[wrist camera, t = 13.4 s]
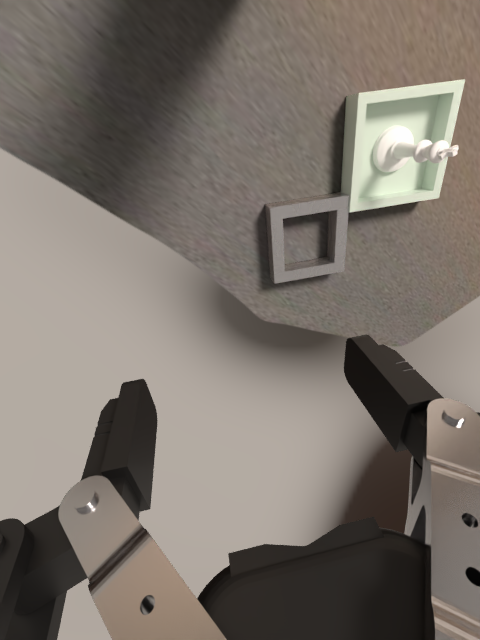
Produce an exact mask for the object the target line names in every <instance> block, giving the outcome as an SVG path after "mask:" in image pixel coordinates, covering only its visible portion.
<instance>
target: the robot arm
mask: <svg viewBox="0 0 480 640" xmlns="http://www.w3.org/2000/svg"><path fill="white" fill-rule="evenodd" d="M344 373H345V376H346V379H347V381H348V383H349V385H350V386H351V387H352V389H353V390H354V392H355V393H356V395H357V396H358V398H359V399H360V400H361V402H362V403H363V405H364V406H365V408H366V409H367V410H368V412H369V414H370V415H371V417H372V418H373V419H374V421H375V422H376V424H377V425H378V427H379V428H380V430H381V431H382V432H383V434H384V435H385V437H386V438H387V440H388V441H389V443H390V444H391V446H392V447H393V449H394V450H395V451H396V452H398V451H403V450H407V449H408V450H409V451H410V453H411V454H412V459H411V471H410V489H409V505H408V515H407V521H406V526H405V533H404V534H403V533H400V532H397V531H394V530H389V529H384V528H379V526H378V524H377V522H376V520H375V519H374V517H371V518H367V519H363V520H359V521H355V522H351V523H347V524H343V525H339V526H338V527H336V528H334V529H333V530H331V531H330V532H328V533H327V534H325V535H323V536H322V537H320V538H319V539H317V540H316V541H314V542H312V543H311V544H309V545H307V546H287V545H269V544H264V545H260V546H256V547H252V548H248V549H244V550H241V551H237V552H233V553H229V563H230V565H229V566H228V567H226V568H225V569H223V570H222V571H221V572H220V573H218V574H217V575H216V576H215V577H214V578H213V579H212V580H211V581H210V582H209V583H208V584H207V585H206V587H205V588H204V589H203V591H202V592H201V593H200V595H199V597H198V598H196V597H195V595H194V594H193V593H192V592H191V590H190V589H189V587H188V586H187V585H186V583H185V582H184V580H183V579H182V578H181V577H180V575H179V574H178V572H177V571H176V569H175V568H174V567H173V565H172V564H171V563H170V561H169V560H168V559H167V557H166V556H165V555H164V553H163V552H162V550H161V549H160V548H159V546H158V545H157V543H156V542H155V541H154V539H153V538H152V537H151V535H150V534H149V533H148V532H147V530H146V529H144V528H143V526H142V525H141V524H140V522H139V521H138V519H139V512H140V511H144V510H148V509H150V504H151V492H152V481H153V468H154V456H155V444H156V432H157V413H156V408H155V405H154V402H153V400H152V397H151V394H150V392H149V389H148V387H147V384H146V382H145V380H144V379H139V380H135V381H130V382H125V383H123V384H122V386H121V390H120V395H119V398H115V399H110V400H109V402H108V403H107V405H106V406H105V407H104V409H103V410H102V411H101V414H100V417H99V421H98V427H97V428H96V431H95V437H94V438H93V441H92V445H91V448H90V452H89V455H88V459H87V462H86V466H85V469H84V472H83V476H82V479H81V481H80V482H78V483H77V484H76V485H75V486H73V487H72V488H71V489H70V490H69V491H68V493H67V494H66V495H65V497H64V498H63V500H62V502H61V504H60V506H58V507H57V508H55V509H53V510H52V511H50V512H48V513H46V514H44V515H42V516H40V517H38V518H36V519H35V520H33V521H31V522H29V523H27V524H25V525H24V524H23V523H22V522H21V521H19V520H18V519H6V520H2V521H0V640H57V636H58V631H59V627H60V622H61V617H62V612H63V607H64V603H65V598H66V593H67V590H69V589H70V588H72V587H73V586H75V585H76V584H78V583H80V582H81V581H83V580H84V579H86V578H88V579H89V583H90V584H89V585H88V588H89V591H90V594H91V596H92V598H93V601H94V603H95V605H96V607H97V609H98V610H99V613H100V615H101V617H102V619H103V621H104V623H105V625H106V627H107V630H108V631H109V634H110V636H111V638H112V640H480V413H477V412H475V411H474V410H473V409H472V408H471V407H469V406H468V405H466V404H464V403H462V402H459V401H456V400H452V399H447V398H443V397H442V396H441V395H440V394H439V393H438V392H437V391H436V390H435V389H434V388H433V387H432V386H431V385H430V384H429V383H428V382H427V381H426V380H425V379H424V378H423V377H422V376H421V375H420V374H419V373H418V372H417V371H416V370H413V367H412V366H411V365H409V363H408V362H405V359H404V358H402V356H400V355H399V354H398V353H397V352H396V351H395V350H393V349H391V348H389V347H387V346H385V345H378V344H377V343H376V342H375V341H374V340H373V339H372V338H371V337H370V336H369V335H362V336H357V337H352V338H348V339H347V341H346V350H345V362H344Z"/></svg>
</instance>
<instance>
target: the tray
mask: <svg viewBox="0 0 480 640" xmlns="http://www.w3.org/2000/svg"><path fill="white" fill-rule="evenodd" d="M464 83H465V79H464V80H456V81H448V82H441V83H433V84H425V85H418V86H410V87H402V88H395V89H387V90H379V91H371V92H364V93H357V94H353V95H350V96H346V108H345V125H344V142H343V159H342V176H341V192H342V193H345V194H348V195H350V199H349V213H350V212H356V211H362V210H368V209H375V208H381V207H387V206H393V205H399V204H405V203H411V202H417V201H423V200H430V199H436V198H439V195H440V190H441V186H442V181H443V177H444V172H445V168H446V163H447V159H448V157H446V158H445V159H444V160H443V161H441V162H440V163H432V162H430V161H429V160H428V159H427V160H426V161H424V162H421V163H418V162H416V161H415V160H414V158H413V157H410V158H409V160H408V161H407V163H406V164H405V165H404V166H403V167H401V168H400V169H398V170H396V171H393V172H382V171H380V170H379V169H377V167H376V166H375V164H374V161H373V149H374V145H375V143H376V141H377V139H378V137H379V136H380V135H381V134H382V133H383V132H384V131H385V130H386V129H388V128H390V127H392V126H403V127H406V128H408V129H409V130H410V131H411V133H412V135H413V138H414V145H417V144H418V143H419V142H420V141H422V140H429V141H431V142H432V144H433V143H435V142H437V141H441V140H444V141H446V142H447V143H448V145H449V148H450V145H451V141H452V136H453V132H454V128H455V123H456V119H457V114H458V110H459V105H460V101H461V96H462V92H463V87H464Z"/></svg>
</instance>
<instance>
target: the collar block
mask: <svg viewBox="0 0 480 640" xmlns="http://www.w3.org/2000/svg"><path fill="white" fill-rule="evenodd" d="M349 199H350V195H348V194H345V193H342V192H338V193H332V194H325V195H319V196H313V197H306V198H300V199H294V200H287V201H281V202H275V203H268V204H265V209H266V224H267V239H268V254H269V269H270V277H271V279H272V281H273V282H274V284H276V283H281V282H287V281H293V280H298V279H304V278H309V277H315V276H320V275H326V274H331V273H337V272H343V271H344V266H345V253H346V239H347V226H348V212H349ZM327 211H329V218H328V242H327V257H323V258H317V259H312V260H306V261H300V262H295V263H289V264H285V263H284V237H283V219H284V218H290V217H296V216H302V215H308V214H315V213H321V212H327Z"/></svg>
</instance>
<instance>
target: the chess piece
mask: <svg viewBox="0 0 480 640" xmlns="http://www.w3.org/2000/svg"><path fill="white" fill-rule="evenodd" d="M457 150H459V149H458V145H454V146H452V147H450V148H449V145H448V143H447V142H446V141H444V140H441V141H437V142H435V143H433V144H432V142H431V141H429V140H422V141H420V142H419V143H418V144H417V145H414V138H413V135H412V133H411V131H410V130H409V129H408V128H406V127H403V126H392V127H390V128H388V129H386V130H385V131H384V132H383V133H382V134H381V135H380V136H379V137H378V139H377V141H376V143H375V145H374V149H373V161H374V164H375V166H376V167H377V169H379V170H380V171H382V172H393V171H396V170H398V169H400V168H401V167H403V166H404V165H405V164H406V163H407V161H408V160H409V158H410V157H413V158H414V160H415V161H416V162H418V163H421V162H424V161H426V160H427V159H428V160H429V161H430V162H432V163H440V162H441V161H443V160H444V159H445V158H446V157H448V156H455V155H456V154H457Z"/></svg>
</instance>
